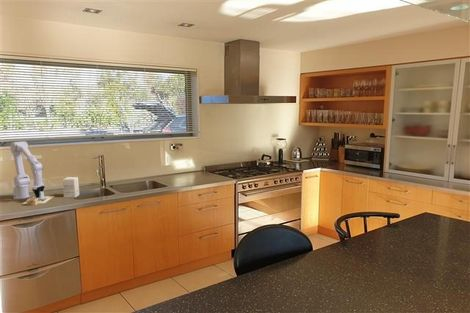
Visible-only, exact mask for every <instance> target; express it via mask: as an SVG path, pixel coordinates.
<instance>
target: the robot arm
mask: <svg viewBox="0 0 470 313" xmlns="http://www.w3.org/2000/svg"><path fill="white" fill-rule="evenodd" d="M9 147H10V152H11V153H12V155H13V160H14V165H15V170H16V175H15V176H13V184H14V187H13V189H12V190H13V199H29V198H30V197H31V196H32V195H30V194H29V193H30V191H29V186H30V184H31V179H30V177H29V176H30V175H29V174H26V173H25V167H24V162H23V156H22V154H23V155H24V156H25V157H26V161H27V162H28V165H30V169H31V172H32V175H33V176H32V178H33V186H32V189H31V190H32V192H33V194H34V193H35V196H36V198H39V197H40V191H44V189H45V187H46V186H45V184H44V182H43V170H44V165H43V163H42V162H40V161H39V160H38V159H37V158H36V156H35V155H32V153H31V151H30V150H29V144H28V142H27V141H25V140H24V141H23V140H22V141H12V142H11V143H10V145H9Z"/></svg>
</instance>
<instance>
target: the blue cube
mask: <svg viewBox="0 0 470 313" xmlns="http://www.w3.org/2000/svg"><path fill="white" fill-rule="evenodd" d="M44 196H45V192H44V190H43V191H40V197H39V198H38V200H40V199H43V198H44ZM33 197H34V198H36V196H35V193H34V192H33Z"/></svg>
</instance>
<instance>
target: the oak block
mask: <svg viewBox="0 0 470 313" xmlns="http://www.w3.org/2000/svg"><path fill="white" fill-rule="evenodd" d="M25 202H26V204H25V205H26V206H37V205H38V204H40V203H39V201H38V198H33V197H28V198H27V199H26V201H25Z"/></svg>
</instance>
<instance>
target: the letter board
mask: <svg viewBox="0 0 470 313" xmlns="http://www.w3.org/2000/svg"><path fill="white" fill-rule="evenodd" d="M54 197H55V195H47V196H45V195H44V198H43V199H40V200H38V201H39V203H38V204H46V203H47V202H48V201H50V200H51V199H53V198H54ZM32 198H34V196H33V197H32ZM22 205H27V204H26V201H24V202H22Z"/></svg>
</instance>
